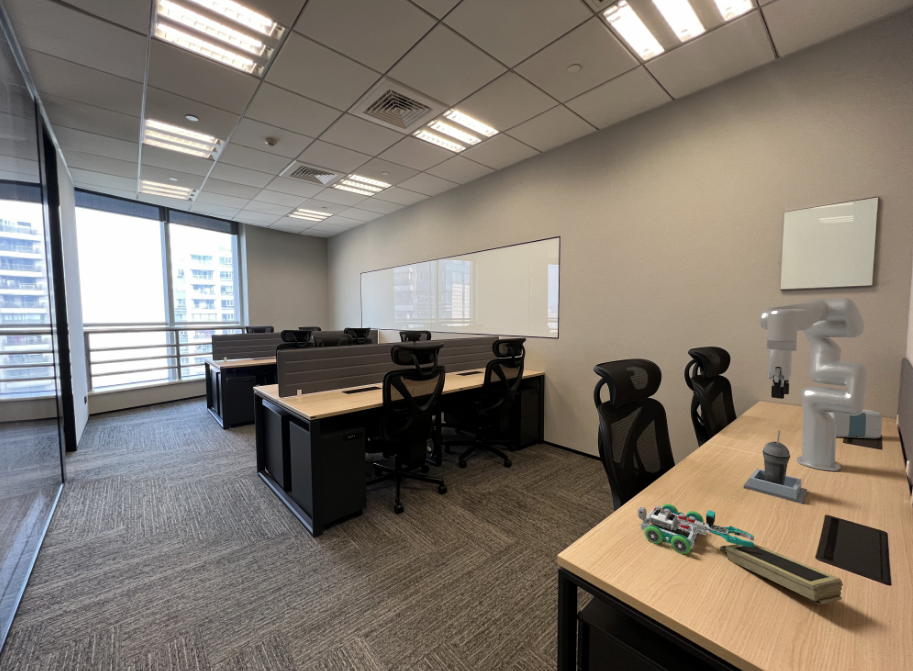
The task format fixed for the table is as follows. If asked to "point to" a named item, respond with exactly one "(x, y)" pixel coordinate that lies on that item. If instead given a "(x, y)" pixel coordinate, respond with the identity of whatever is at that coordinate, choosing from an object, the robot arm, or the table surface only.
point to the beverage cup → (775, 461)
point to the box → (787, 572)
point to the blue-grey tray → (777, 487)
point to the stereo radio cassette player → (858, 424)
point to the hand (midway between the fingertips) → (780, 395)
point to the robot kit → (685, 527)
